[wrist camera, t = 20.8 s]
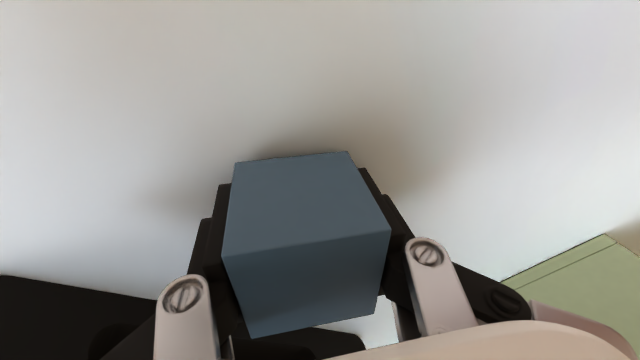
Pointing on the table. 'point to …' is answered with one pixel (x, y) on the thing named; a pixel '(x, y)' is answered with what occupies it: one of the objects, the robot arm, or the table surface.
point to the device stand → (124, 326)
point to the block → (303, 242)
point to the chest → (590, 285)
